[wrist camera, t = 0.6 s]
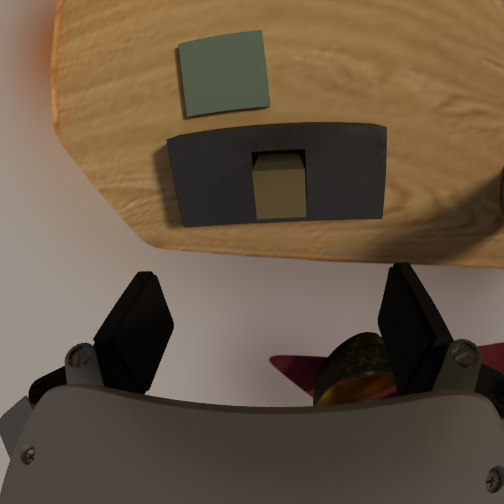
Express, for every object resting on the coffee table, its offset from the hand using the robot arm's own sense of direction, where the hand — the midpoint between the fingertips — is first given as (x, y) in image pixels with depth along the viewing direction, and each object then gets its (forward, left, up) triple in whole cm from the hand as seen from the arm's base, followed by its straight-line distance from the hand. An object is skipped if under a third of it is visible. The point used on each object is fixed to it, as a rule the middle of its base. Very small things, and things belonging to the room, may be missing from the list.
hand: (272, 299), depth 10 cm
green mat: (+5, -12, -22) cm, 26 cm away
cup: (-12, +33, -23) cm, 42 cm away
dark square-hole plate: (0, 0, -22) cm, 22 cm away
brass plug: (0, 0, -22) cm, 22 cm away
